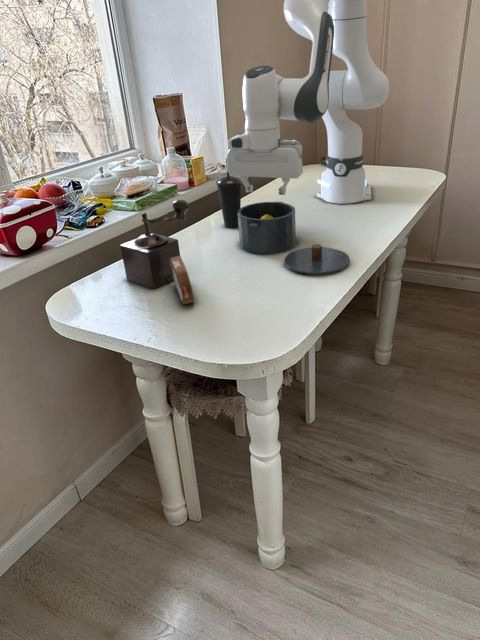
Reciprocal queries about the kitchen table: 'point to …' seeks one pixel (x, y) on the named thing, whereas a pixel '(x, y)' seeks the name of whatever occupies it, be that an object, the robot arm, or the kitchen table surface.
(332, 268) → the lid
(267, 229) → the pot
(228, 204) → the drinking cup
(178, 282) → the tin
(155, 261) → the manual coffee grinder
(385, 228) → the kitchen table surface
